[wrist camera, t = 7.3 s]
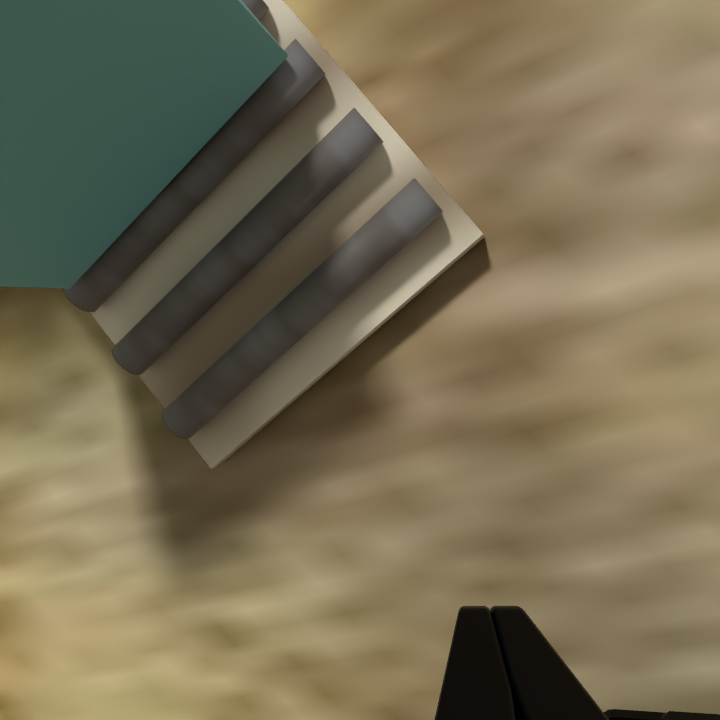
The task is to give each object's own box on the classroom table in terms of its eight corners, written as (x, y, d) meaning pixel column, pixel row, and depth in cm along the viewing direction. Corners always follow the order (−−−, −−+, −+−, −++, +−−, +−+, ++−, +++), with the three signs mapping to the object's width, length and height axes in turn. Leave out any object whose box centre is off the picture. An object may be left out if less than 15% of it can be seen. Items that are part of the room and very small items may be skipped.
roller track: (484, 237, 20) (473, 212, 15) (223, 462, 24) (129, 514, 18) (164, -137, 22) (39, -294, 16) (-41, 123, 25) (-206, 69, 19)
